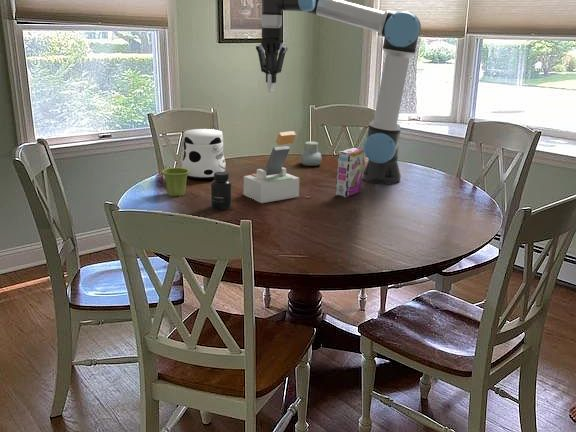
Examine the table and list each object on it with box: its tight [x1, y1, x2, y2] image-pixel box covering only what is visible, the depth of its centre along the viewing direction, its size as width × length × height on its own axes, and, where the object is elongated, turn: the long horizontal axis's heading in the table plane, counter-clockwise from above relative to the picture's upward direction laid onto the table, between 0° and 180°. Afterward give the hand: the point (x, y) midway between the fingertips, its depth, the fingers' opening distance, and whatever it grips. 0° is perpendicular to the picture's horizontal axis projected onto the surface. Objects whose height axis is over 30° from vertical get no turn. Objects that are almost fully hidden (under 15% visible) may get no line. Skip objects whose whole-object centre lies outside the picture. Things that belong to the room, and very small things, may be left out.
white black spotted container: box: [181, 128, 226, 180], centre depth 236 cm, size 17×17×18 cm
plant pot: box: [162, 167, 189, 197], centre depth 213 cm, size 9×9×9 cm
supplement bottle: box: [210, 171, 232, 211], centre depth 198 cm, size 7×7×12 cm
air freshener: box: [300, 141, 322, 167], centre depth 262 cm, size 11×8×10 cm
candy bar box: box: [335, 147, 365, 198], centre depth 217 cm, size 11×5×16 cm, turn 145°
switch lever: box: [264, 130, 297, 175], centre depth 206 cm, size 2×6×19 cm
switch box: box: [243, 167, 300, 204], centre depth 213 cm, size 12×16×10 cm
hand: (270, 91), depth 228 cm, fingers closed
